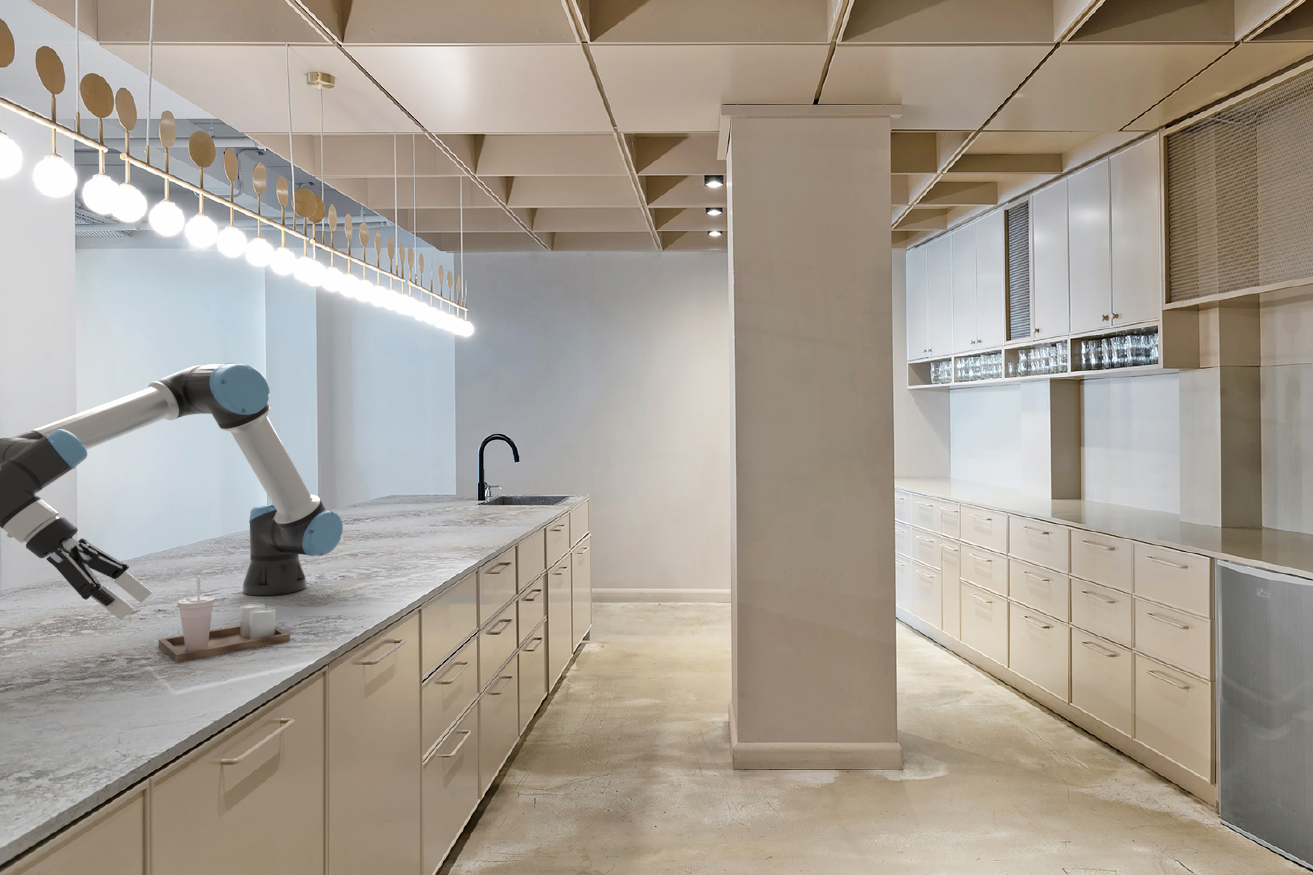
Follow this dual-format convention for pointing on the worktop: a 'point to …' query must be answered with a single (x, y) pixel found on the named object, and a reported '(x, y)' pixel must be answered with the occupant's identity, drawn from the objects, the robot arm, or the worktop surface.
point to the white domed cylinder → (262, 623)
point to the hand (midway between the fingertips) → (138, 605)
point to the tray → (219, 643)
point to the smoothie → (196, 619)
